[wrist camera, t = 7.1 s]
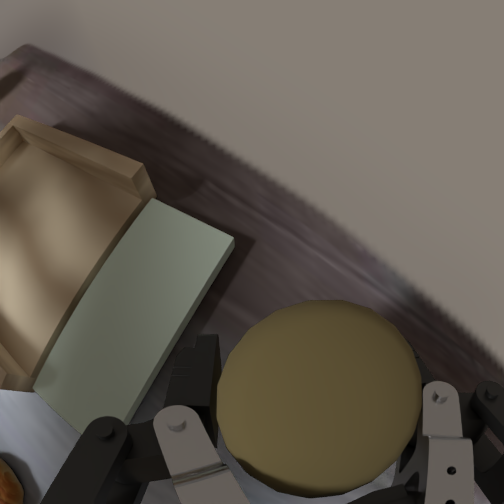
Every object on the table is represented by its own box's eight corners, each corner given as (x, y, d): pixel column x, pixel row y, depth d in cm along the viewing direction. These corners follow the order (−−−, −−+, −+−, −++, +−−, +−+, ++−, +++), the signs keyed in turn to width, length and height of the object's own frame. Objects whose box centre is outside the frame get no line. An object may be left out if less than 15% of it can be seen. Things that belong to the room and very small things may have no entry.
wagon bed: (33, 392, 15) (-1, 389, 11) (-57, 264, 18) (-79, 249, 15) (157, 196, 20) (143, 163, 17) (31, 137, 24) (17, 114, 21)
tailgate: (43, 389, 15) (113, 450, 14) (32, 388, 14) (105, 453, 12) (156, 207, 20) (234, 246, 19) (151, 197, 19) (234, 237, 18)
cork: (235, 451, 14) (212, 549, 4) (220, 346, 16) (172, 281, 6) (344, 431, 14) (468, 476, 4) (327, 329, 17) (426, 247, 7)
